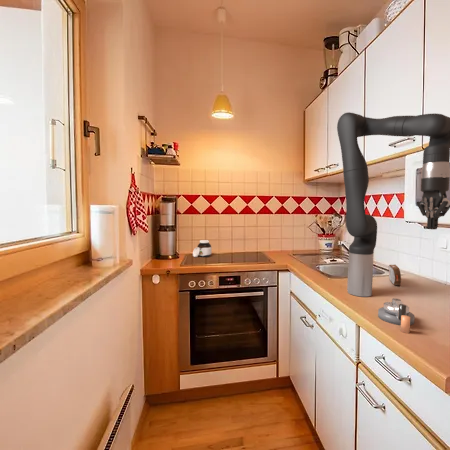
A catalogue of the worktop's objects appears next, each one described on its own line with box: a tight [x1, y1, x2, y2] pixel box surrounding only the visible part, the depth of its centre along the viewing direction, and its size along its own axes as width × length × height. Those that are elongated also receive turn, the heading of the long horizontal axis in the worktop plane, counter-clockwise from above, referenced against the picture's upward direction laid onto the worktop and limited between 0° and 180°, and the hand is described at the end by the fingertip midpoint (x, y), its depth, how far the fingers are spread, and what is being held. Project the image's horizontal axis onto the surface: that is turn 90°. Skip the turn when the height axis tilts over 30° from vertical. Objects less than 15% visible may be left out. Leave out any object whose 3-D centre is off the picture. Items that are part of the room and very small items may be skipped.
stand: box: [377, 306, 415, 334], centre depth 87 cm, size 15×10×4 cm, turn 2°
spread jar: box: [192, 239, 213, 258], centre depth 199 cm, size 12×11×12 cm
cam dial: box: [383, 297, 410, 320], centre depth 87 cm, size 11×7×4 cm, turn 161°
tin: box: [388, 264, 402, 287], centre depth 131 cm, size 15×3×8 cm, turn 158°
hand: (432, 229), depth 92 cm, fingers closed
